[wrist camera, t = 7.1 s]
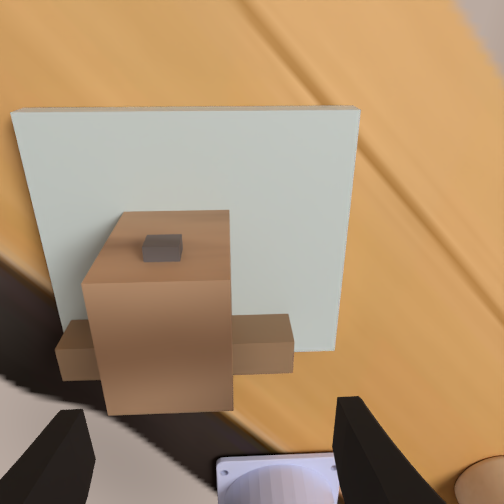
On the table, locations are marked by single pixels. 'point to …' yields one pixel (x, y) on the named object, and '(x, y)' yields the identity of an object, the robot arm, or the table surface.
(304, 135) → the wall board
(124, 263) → the cabinet block
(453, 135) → the table surface
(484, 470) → the candle
